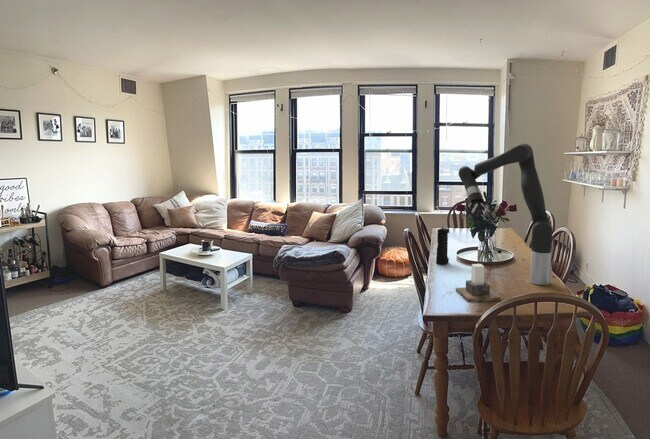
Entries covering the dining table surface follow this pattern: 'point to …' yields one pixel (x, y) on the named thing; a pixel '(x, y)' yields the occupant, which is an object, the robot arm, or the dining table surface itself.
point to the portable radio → (442, 246)
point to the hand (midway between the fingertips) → (482, 219)
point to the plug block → (477, 274)
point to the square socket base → (477, 292)
